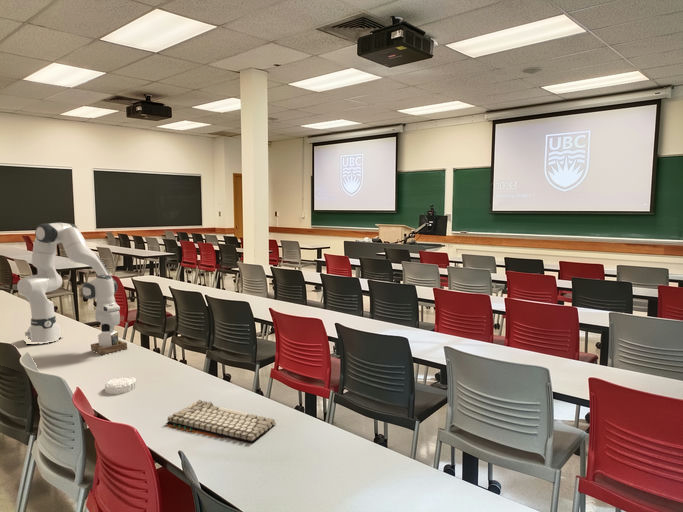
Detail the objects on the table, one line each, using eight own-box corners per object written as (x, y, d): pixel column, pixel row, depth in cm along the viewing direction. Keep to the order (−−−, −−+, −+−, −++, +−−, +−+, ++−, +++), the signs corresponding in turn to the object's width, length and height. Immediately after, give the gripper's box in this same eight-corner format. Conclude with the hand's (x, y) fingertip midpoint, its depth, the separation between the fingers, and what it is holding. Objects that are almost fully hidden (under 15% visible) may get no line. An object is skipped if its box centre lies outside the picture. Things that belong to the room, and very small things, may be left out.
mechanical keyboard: (281, 422, 168) (281, 413, 167) (251, 448, 150) (250, 438, 150) (197, 406, 183) (196, 397, 182) (160, 428, 165) (160, 418, 165)
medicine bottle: (112, 348, 249) (110, 325, 248) (98, 348, 249) (97, 325, 248) (118, 344, 256) (117, 322, 255) (105, 344, 256) (104, 322, 255)
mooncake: (102, 388, 200) (101, 380, 200) (131, 381, 208) (131, 373, 207) (109, 397, 191) (108, 388, 191) (140, 389, 199) (139, 381, 198)
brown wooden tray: (91, 350, 252) (90, 344, 252) (115, 345, 262) (114, 338, 262) (102, 355, 244) (102, 348, 244) (127, 349, 254) (126, 342, 254)
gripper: (91, 304, 254) (92, 329, 256) (109, 309, 242) (111, 335, 243) (102, 302, 259) (104, 327, 261) (121, 307, 247) (123, 333, 248)
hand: (107, 331), depth 252 cm, fingers closed on medicine bottle, 6 cm apart
